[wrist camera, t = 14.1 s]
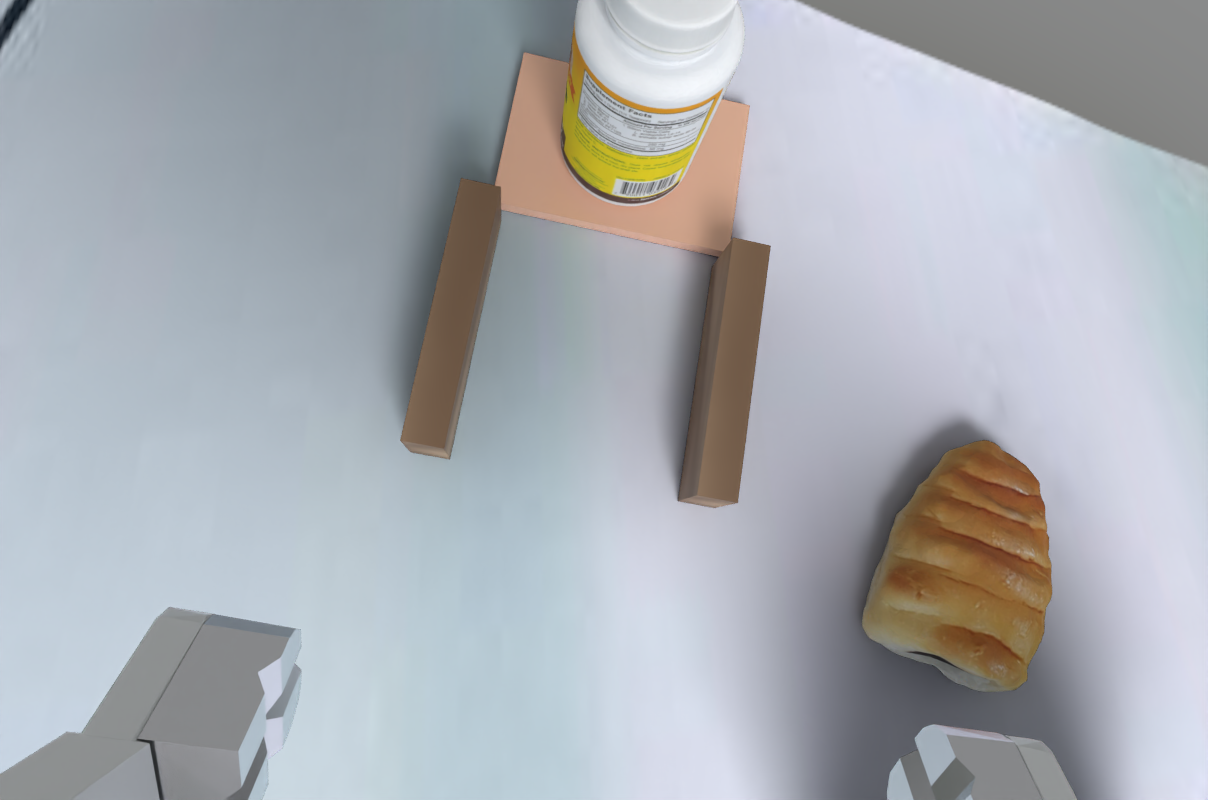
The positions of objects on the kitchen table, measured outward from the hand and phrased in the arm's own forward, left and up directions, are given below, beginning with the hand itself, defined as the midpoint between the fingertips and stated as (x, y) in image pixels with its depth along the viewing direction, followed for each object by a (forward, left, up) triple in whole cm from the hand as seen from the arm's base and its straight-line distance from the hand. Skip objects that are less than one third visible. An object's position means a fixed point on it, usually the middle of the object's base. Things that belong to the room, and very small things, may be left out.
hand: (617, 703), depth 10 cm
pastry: (+16, +4, -19) cm, 25 cm away
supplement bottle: (0, +19, -19) cm, 26 cm away
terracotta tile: (0, +19, -19) cm, 27 cm away
